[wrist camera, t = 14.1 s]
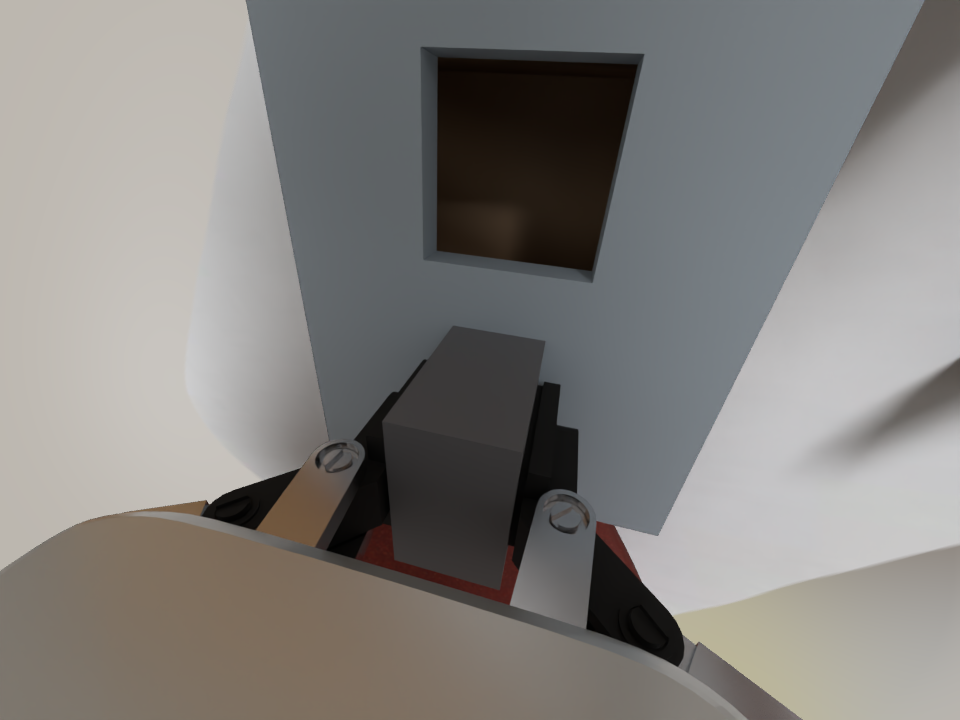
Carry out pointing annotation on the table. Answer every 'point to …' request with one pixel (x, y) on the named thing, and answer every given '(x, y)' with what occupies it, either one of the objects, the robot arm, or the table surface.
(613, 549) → the plant pot
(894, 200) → the table surface
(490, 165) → the brown hollow box
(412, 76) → the toolbox lid
